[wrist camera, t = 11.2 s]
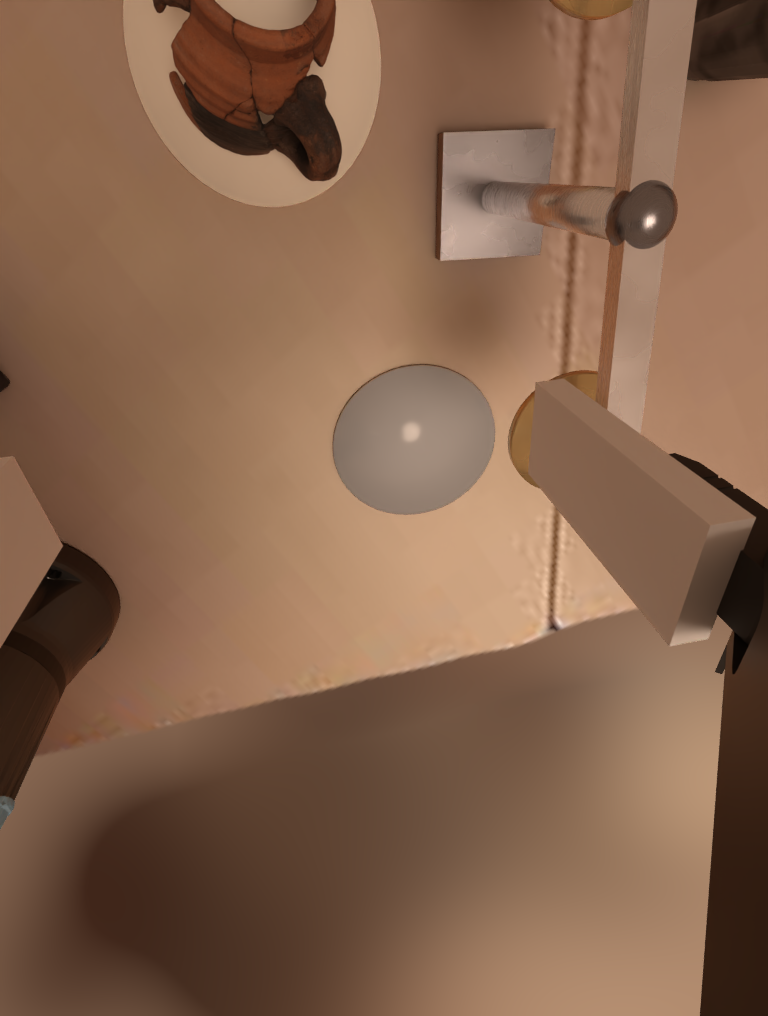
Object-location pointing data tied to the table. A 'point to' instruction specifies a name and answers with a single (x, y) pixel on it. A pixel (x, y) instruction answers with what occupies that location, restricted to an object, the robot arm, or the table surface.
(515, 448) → the balance
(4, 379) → the camera
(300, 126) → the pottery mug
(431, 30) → the table surface
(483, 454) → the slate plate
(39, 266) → the table surface
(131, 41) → the cream plate
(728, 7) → the beverage cup
